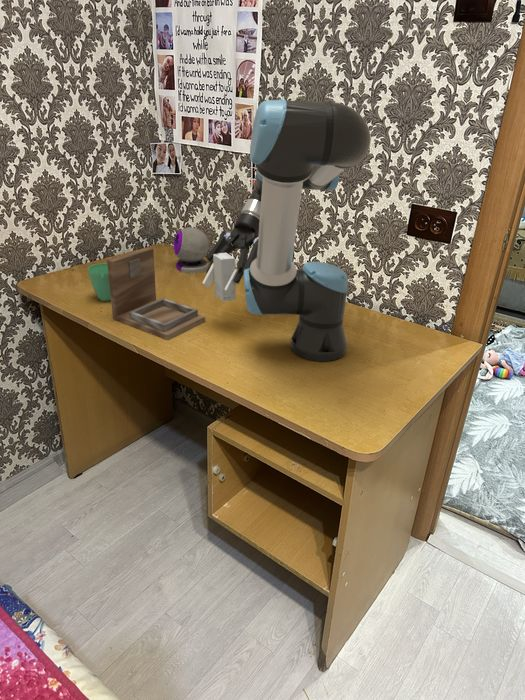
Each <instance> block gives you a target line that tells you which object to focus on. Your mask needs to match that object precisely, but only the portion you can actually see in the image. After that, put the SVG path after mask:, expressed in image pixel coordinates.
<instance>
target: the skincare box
mask: <svg viewBox="0 0 525 700" xmlns="http://www.w3.org/2000/svg"><path fill="white" fill-rule="evenodd" d="M213 265H214V279H213V287H214V291H213V292H214V296H216V297H217V298H218V299H219V300H220V301H221V302H229V301H235V300H236V286H235V287H234V289H233V291H232V293H231V295H230V294H228V293H227V292H226V291H225V290H224V289H225V287H226V285H227V283H228V281H229V279H230V277H231V275H232V273H233V272H234V270H235V269H236V258H235V257H234V256H232V255H231V254H227V253H219V254H213Z"/></svg>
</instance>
